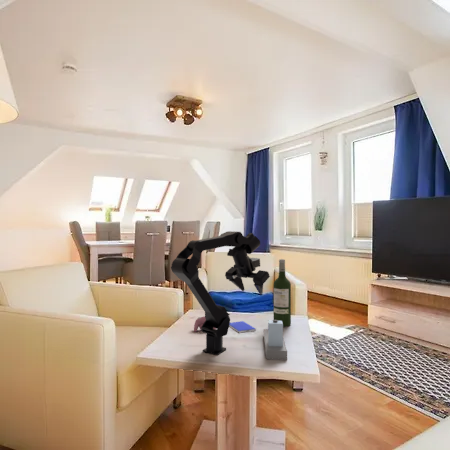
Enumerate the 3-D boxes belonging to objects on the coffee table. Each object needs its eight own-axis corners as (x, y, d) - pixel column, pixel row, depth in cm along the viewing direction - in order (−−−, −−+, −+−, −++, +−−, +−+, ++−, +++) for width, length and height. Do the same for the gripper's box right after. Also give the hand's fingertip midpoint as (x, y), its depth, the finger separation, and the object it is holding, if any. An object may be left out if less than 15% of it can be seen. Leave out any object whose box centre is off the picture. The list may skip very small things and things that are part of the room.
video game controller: (217, 334, 146) (217, 317, 149) (215, 332, 142) (216, 315, 145) (194, 333, 147) (196, 317, 150) (192, 331, 143) (194, 314, 146)
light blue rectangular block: (283, 352, 118) (282, 322, 118) (268, 351, 118) (268, 321, 118) (281, 348, 122) (281, 318, 122) (268, 347, 122) (268, 318, 122)
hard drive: (227, 322, 154) (239, 330, 143) (243, 320, 157) (256, 328, 146) (227, 326, 154) (239, 334, 142) (243, 324, 157) (256, 331, 146)
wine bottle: (273, 326, 152) (273, 260, 152) (273, 321, 160) (273, 258, 160) (291, 327, 151) (291, 260, 151) (290, 322, 158) (290, 258, 159)
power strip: (287, 359, 113) (287, 349, 113) (266, 359, 114) (266, 348, 114) (279, 331, 144) (279, 323, 144) (263, 331, 145) (263, 322, 145)
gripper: (271, 251, 131) (281, 283, 137) (235, 248, 143) (245, 278, 149) (256, 266, 124) (267, 300, 129) (219, 262, 136) (230, 293, 142)
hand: (252, 292), depth 138 cm, fingers open, 9 cm apart
